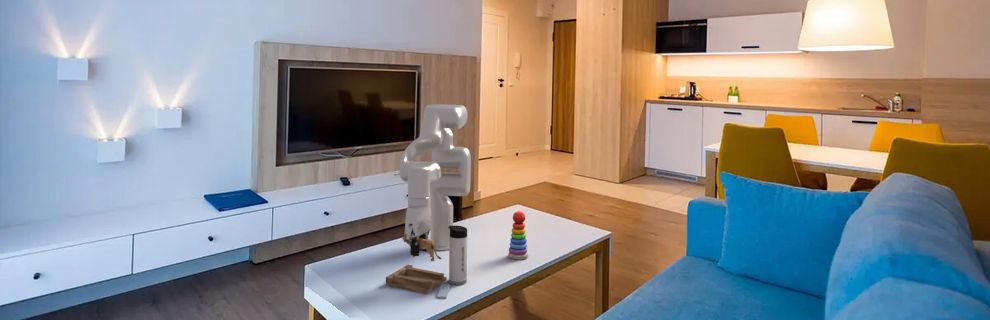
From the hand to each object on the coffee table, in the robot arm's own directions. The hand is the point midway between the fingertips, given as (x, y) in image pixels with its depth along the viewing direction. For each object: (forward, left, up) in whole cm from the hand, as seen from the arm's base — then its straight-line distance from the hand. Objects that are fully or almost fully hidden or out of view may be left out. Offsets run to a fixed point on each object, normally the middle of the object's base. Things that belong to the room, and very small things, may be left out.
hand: (419, 252), depth 183 cm
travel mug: (-8, +11, -11) cm, 18 cm away
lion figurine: (0, +1, -1) cm, 2 cm away
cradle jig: (0, -1, -11) cm, 11 cm away
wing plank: (+3, +11, -12) cm, 17 cm away
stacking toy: (-41, +21, -11) cm, 48 cm away
